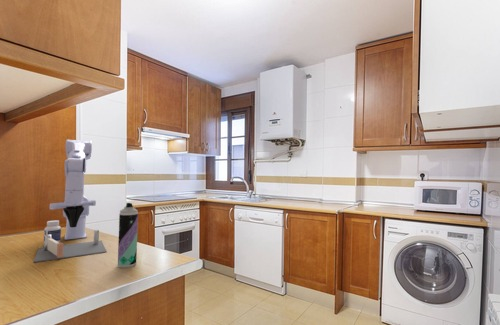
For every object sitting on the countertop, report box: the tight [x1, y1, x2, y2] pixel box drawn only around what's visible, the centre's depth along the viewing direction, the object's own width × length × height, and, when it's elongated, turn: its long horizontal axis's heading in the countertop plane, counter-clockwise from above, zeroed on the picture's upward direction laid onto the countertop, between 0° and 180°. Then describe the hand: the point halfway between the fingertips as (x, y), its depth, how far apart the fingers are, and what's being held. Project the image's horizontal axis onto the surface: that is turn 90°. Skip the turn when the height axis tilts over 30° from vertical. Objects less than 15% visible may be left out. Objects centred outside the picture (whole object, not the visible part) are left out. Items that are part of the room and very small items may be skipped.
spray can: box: [117, 202, 139, 269], centre depth 85 cm, size 6×6×20 cm
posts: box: [43, 229, 100, 251], centre depth 101 cm, size 2×17×6 cm, turn 125°
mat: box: [32, 240, 108, 264], centre depth 98 cm, size 18×21×1 cm
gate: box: [47, 238, 64, 258], centre depth 92 cm, size 13×1×5 cm, turn 51°
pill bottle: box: [43, 219, 62, 247], centre depth 104 cm, size 5×5×10 cm
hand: (73, 227), depth 96 cm, fingers closed
